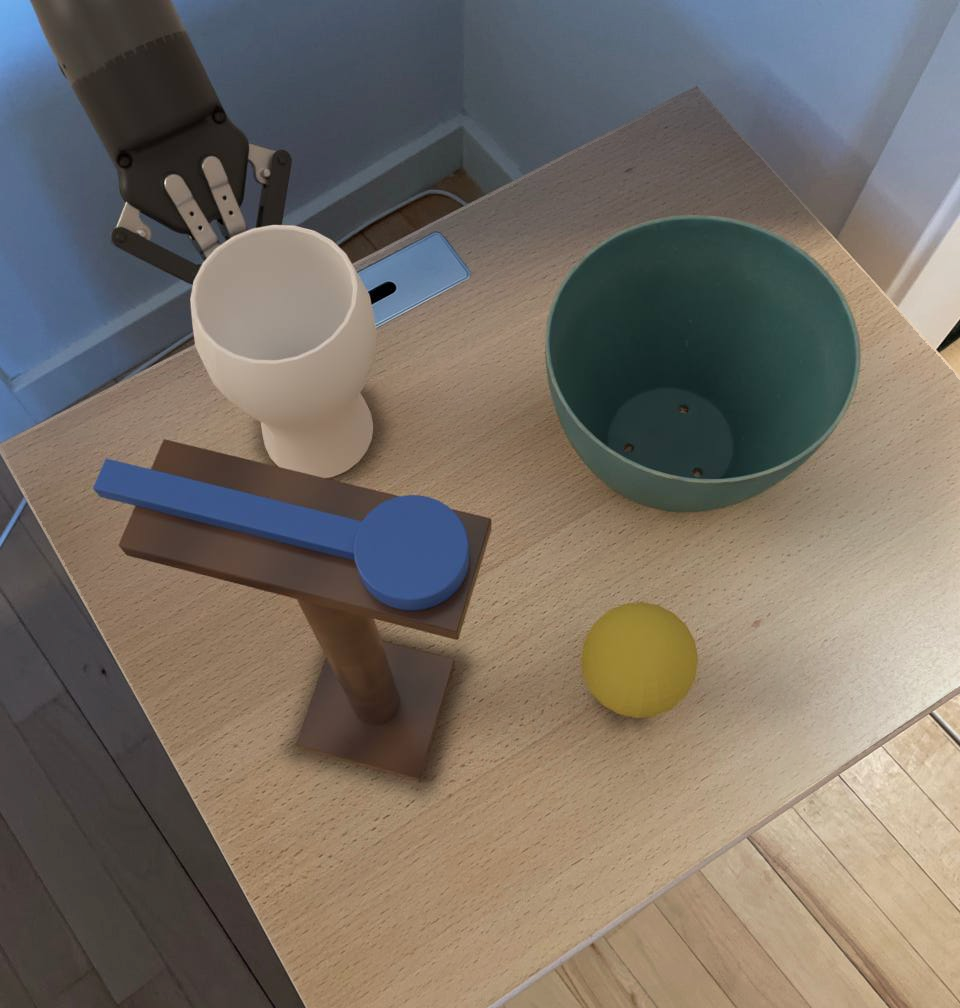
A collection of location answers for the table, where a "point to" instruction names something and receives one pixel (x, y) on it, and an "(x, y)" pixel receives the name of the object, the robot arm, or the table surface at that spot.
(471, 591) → the spoon stand
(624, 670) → the yellow ball
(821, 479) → the table surface
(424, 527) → the spoon
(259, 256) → the cup
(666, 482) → the plant pot
